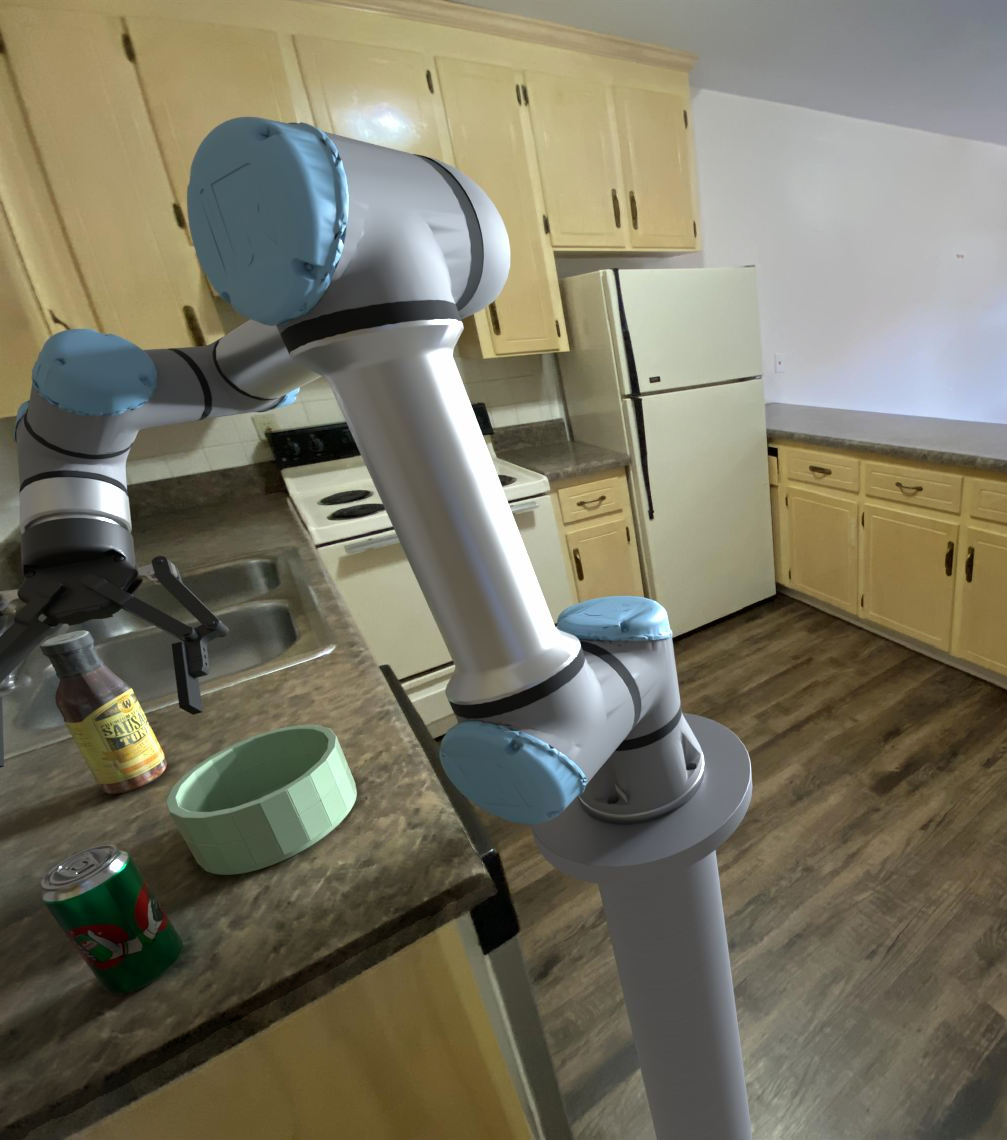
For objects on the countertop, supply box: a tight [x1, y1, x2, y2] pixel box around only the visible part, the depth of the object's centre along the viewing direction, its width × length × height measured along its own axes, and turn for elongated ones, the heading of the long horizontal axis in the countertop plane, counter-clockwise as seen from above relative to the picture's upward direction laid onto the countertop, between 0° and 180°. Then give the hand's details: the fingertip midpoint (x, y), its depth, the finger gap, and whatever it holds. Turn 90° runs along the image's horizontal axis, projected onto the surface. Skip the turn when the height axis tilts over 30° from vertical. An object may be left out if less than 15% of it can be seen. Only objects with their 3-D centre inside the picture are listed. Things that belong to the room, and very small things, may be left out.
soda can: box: [40, 843, 184, 995], centre depth 51 cm, size 5×5×12 cm
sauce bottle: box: [39, 630, 168, 795], centre depth 74 cm, size 6×6×20 cm
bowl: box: [165, 724, 358, 876], centre depth 68 cm, size 15×15×8 cm
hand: (94, 736), depth 55 cm, fingers open, 13 cm apart
